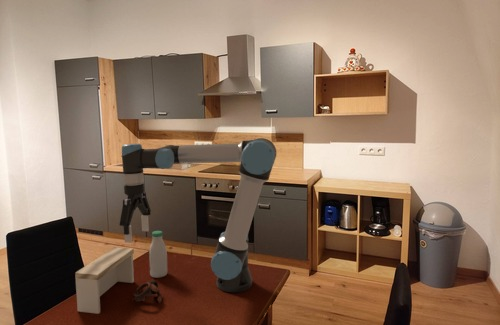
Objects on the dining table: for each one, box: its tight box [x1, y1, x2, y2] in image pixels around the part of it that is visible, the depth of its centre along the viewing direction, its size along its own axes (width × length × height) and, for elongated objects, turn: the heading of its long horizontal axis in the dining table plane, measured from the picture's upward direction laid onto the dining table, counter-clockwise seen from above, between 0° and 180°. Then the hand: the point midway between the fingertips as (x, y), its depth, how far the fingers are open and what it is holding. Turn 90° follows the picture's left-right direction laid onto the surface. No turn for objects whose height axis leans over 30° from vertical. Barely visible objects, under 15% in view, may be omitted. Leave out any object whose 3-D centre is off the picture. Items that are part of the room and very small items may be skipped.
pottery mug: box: [133, 280, 163, 304], centre depth 147 cm, size 12×10×8 cm
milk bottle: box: [148, 230, 168, 279], centre depth 168 cm, size 8×8×20 cm
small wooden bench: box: [74, 246, 135, 315], centre depth 149 cm, size 9×26×15 cm, turn 169°
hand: (137, 236), depth 148 cm, fingers open, 13 cm apart
